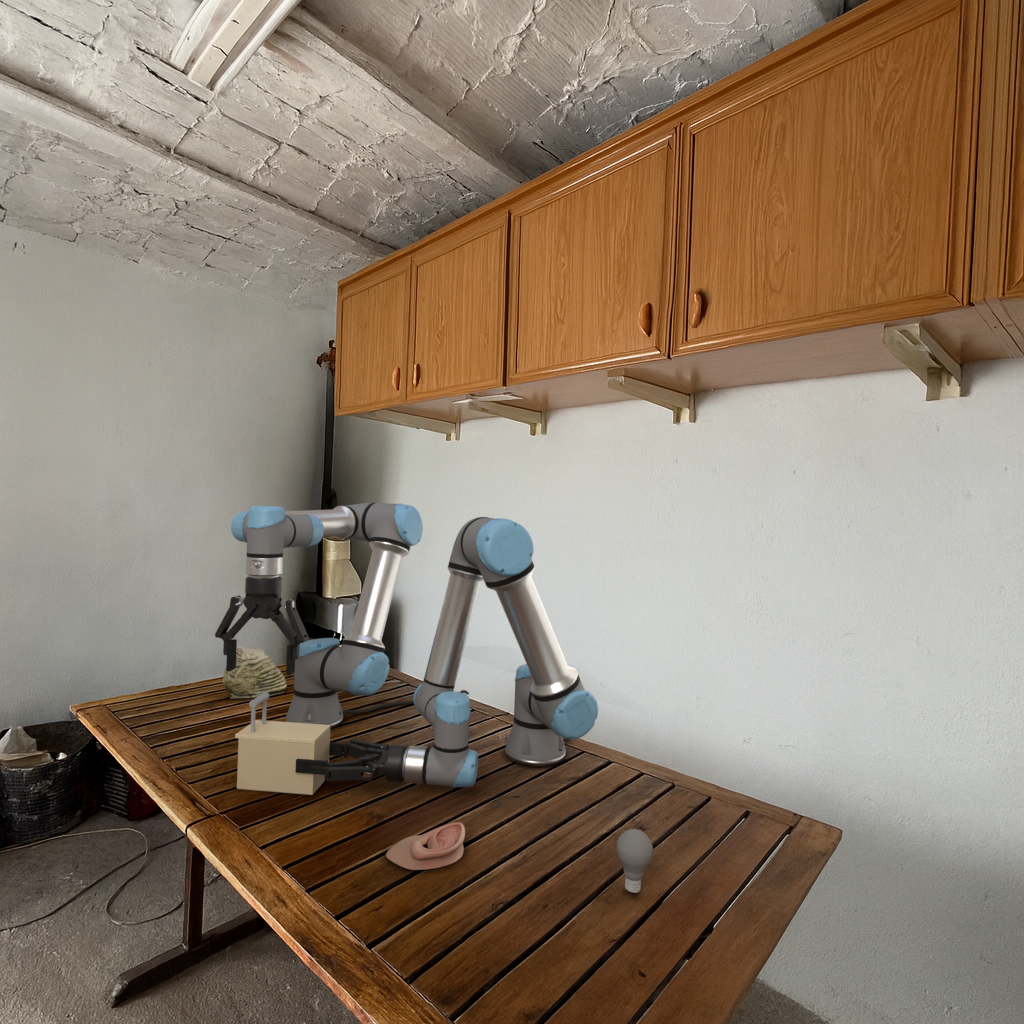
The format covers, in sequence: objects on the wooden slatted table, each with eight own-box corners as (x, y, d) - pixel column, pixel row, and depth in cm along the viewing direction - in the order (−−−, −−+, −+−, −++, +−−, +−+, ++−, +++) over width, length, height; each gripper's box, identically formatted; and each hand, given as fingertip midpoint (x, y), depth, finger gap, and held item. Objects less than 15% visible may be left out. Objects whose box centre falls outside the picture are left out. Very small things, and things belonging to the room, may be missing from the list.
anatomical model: (379, 842, 110) (403, 810, 121) (378, 864, 110) (403, 831, 121) (452, 854, 107) (471, 821, 118) (452, 877, 107) (470, 842, 118)
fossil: (218, 695, 195) (220, 647, 195) (278, 685, 208) (279, 640, 207) (228, 703, 189) (230, 653, 188) (289, 692, 201) (290, 645, 201)
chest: (236, 788, 136) (238, 738, 135) (257, 770, 145) (259, 723, 145) (312, 795, 134) (314, 744, 134) (328, 776, 144) (330, 728, 143)
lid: (234, 738, 136) (236, 702, 135) (255, 723, 145) (256, 689, 145) (314, 744, 134) (315, 707, 134) (330, 728, 143) (331, 694, 143)
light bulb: (610, 879, 108) (613, 822, 108) (644, 879, 109) (647, 822, 109) (619, 902, 102) (622, 840, 102) (655, 901, 103) (658, 840, 103)
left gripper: (200, 574, 137) (196, 672, 137) (312, 581, 135) (308, 680, 135) (219, 571, 144) (215, 663, 144) (325, 577, 142) (321, 671, 142)
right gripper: (392, 805, 127) (283, 796, 128) (417, 760, 148) (323, 753, 150) (393, 767, 126) (284, 759, 128) (418, 728, 148) (325, 721, 150)
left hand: (260, 672), depth 140 cm, fingers open, 13 cm apart
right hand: (305, 756), depth 139 cm, fingers closed on chest, 9 cm apart
